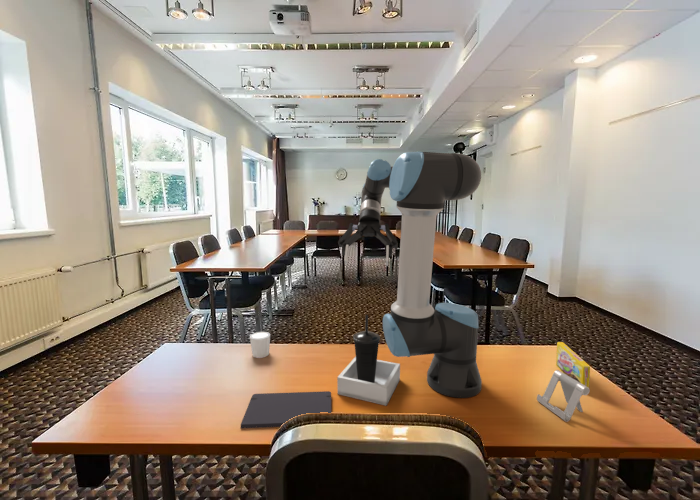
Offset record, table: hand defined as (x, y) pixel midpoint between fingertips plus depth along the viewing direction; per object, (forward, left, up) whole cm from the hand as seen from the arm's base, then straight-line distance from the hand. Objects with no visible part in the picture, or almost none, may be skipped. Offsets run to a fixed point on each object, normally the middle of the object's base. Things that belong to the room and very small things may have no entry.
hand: (366, 263), depth 110 cm
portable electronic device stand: (-56, +8, -33) cm, 66 cm away
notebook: (+8, +35, -33) cm, 49 cm away
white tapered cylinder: (+35, +12, -33) cm, 49 cm away
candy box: (-62, -11, -33) cm, 71 cm away
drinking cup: (-6, +16, -32) cm, 36 cm away
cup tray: (-7, +17, -33) cm, 37 cm away
